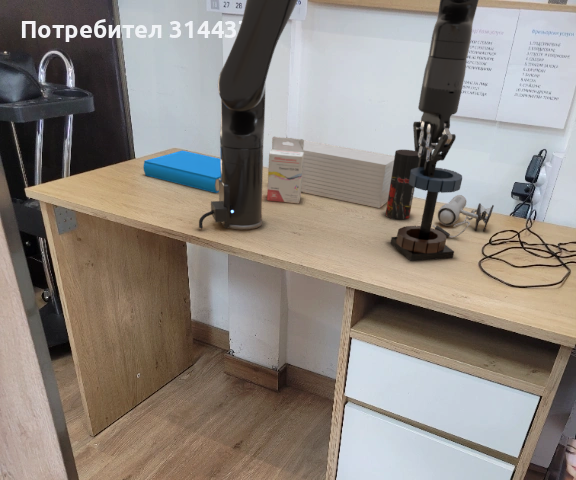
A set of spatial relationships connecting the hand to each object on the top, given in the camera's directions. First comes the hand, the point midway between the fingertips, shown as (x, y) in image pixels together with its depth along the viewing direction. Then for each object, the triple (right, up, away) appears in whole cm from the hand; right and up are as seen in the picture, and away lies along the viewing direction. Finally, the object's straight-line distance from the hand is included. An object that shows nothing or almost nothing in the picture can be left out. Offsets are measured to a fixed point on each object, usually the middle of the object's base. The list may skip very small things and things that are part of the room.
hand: (424, 177), depth 115 cm
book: (-54, +15, +41) cm, 70 cm away
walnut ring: (0, -13, +4) cm, 13 cm away
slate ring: (+1, -3, -3) cm, 4 cm away
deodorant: (-1, -1, +23) cm, 23 cm away
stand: (0, -14, +5) cm, 15 cm away
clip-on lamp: (+13, -6, +18) cm, 23 cm away
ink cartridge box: (-30, +5, +29) cm, 42 cm away
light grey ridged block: (-17, +10, +37) cm, 42 cm away
